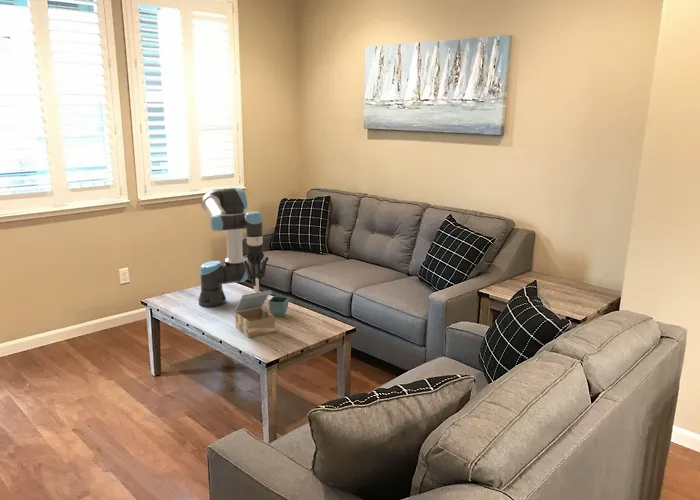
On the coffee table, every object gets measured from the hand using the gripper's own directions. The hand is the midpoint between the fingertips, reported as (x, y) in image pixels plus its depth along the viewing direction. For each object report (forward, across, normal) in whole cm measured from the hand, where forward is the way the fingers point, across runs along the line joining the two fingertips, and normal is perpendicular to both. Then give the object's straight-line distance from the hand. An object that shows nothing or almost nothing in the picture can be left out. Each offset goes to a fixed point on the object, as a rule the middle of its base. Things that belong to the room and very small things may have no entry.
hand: (256, 291), depth 273 cm
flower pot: (+21, +19, +15) cm, 32 cm away
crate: (+21, 0, +3) cm, 21 cm away
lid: (+8, 0, +4) cm, 9 cm away
